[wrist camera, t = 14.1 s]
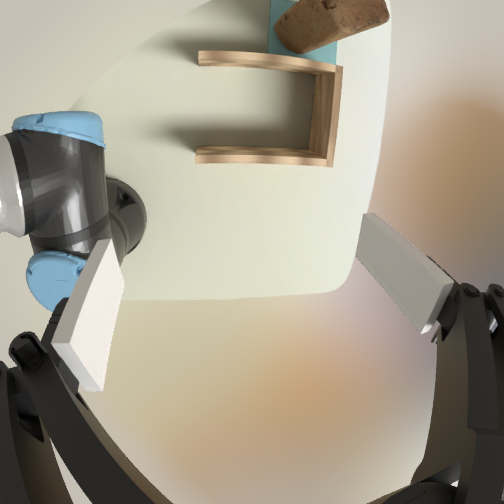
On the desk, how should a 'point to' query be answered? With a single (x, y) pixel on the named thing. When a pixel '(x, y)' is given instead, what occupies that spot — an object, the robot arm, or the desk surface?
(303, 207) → the desk surface
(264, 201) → the desk surface
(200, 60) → the wooden u-shaped enclosure
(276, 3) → the mat
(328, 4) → the brown pitted rock
